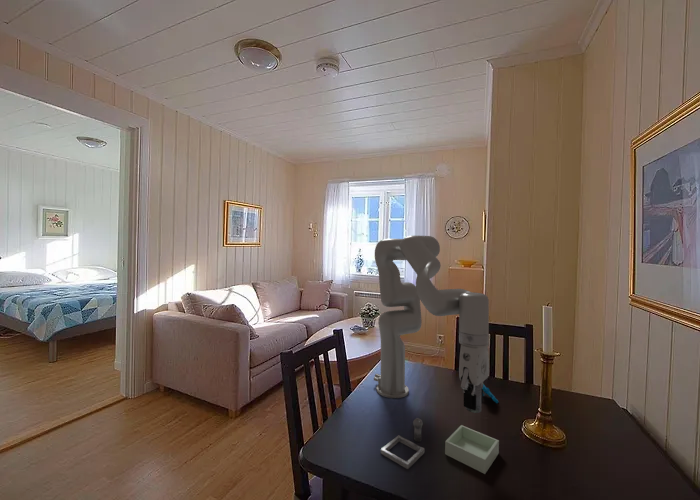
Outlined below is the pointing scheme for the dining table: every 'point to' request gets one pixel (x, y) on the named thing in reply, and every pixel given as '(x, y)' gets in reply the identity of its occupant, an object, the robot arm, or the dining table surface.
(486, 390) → the blue plastic angled piece
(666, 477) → the dining table surface
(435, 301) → the robot arm
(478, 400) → the grey cylinder
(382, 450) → the grey piece
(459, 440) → the bin
